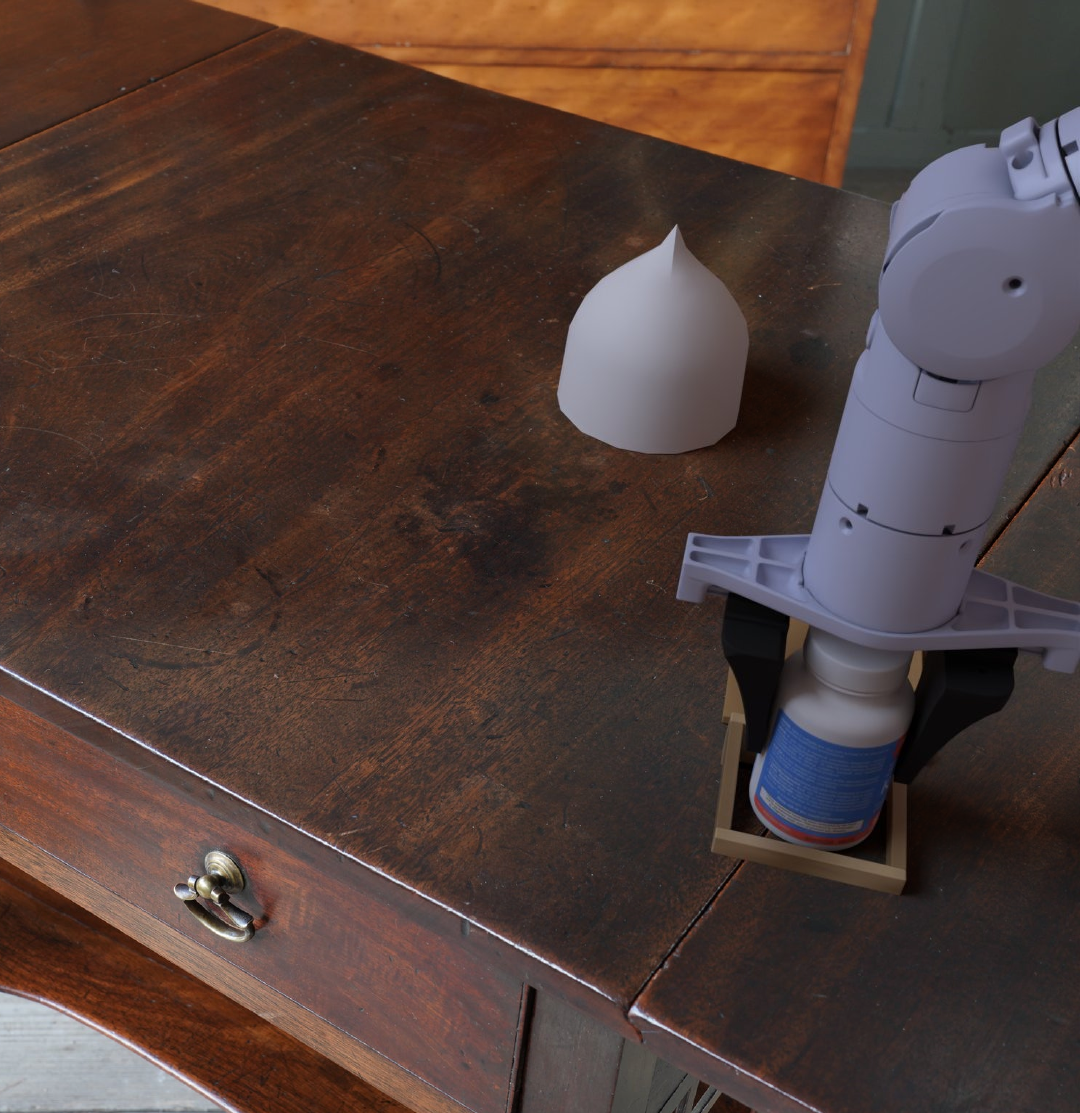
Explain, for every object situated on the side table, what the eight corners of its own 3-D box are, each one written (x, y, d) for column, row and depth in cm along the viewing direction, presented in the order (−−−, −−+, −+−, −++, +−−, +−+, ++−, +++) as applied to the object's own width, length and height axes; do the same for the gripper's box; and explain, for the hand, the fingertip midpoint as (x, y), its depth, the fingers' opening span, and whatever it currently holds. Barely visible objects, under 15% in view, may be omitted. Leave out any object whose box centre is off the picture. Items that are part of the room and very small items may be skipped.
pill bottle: (891, 857, 61) (954, 688, 55) (760, 855, 61) (809, 686, 55) (857, 759, 65) (912, 593, 59) (735, 757, 65) (777, 591, 59)
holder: (893, 785, 66) (907, 747, 64) (891, 918, 60) (906, 880, 59) (722, 749, 68) (731, 710, 66) (704, 875, 62) (714, 836, 60)
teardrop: (647, 476, 84) (679, 290, 77) (520, 390, 91) (537, 212, 83) (777, 414, 89) (819, 234, 82) (647, 337, 96) (675, 165, 88)
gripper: (1117, 460, 54) (1008, 721, 62) (715, 396, 57) (664, 653, 65) (1139, 578, 48) (1017, 846, 57) (695, 501, 52) (643, 765, 60)
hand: (828, 751), depth 61 cm, fingers closed on pill bottle, 5 cm apart
